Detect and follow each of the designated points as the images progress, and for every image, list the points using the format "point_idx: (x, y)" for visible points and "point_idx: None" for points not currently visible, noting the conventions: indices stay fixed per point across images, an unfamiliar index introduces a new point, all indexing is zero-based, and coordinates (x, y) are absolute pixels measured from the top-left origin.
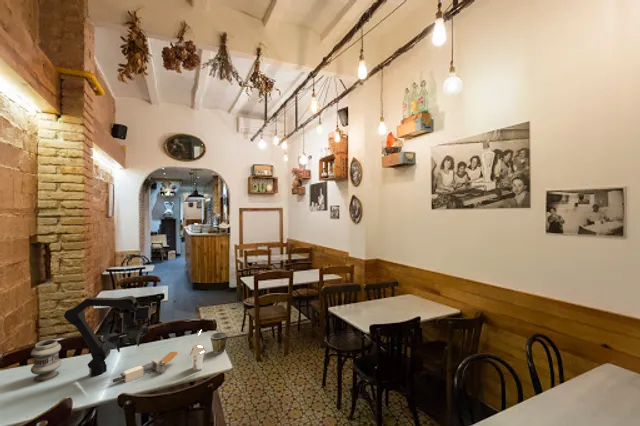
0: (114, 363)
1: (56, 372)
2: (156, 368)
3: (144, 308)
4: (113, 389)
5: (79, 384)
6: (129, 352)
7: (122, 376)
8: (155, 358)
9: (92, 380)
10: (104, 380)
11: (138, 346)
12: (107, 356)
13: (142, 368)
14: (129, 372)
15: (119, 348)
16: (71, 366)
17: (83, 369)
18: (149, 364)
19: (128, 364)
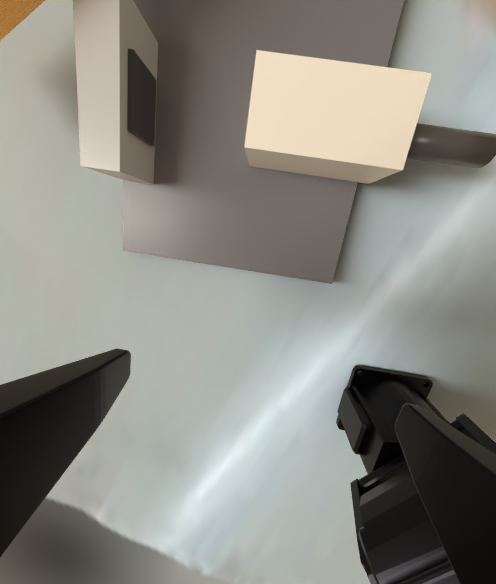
0: (255, 445)
1: None
2: (149, 72)
3: None
4: None
5: (488, 388)
6: (149, 486)
7: (425, 128)
8: (86, 158)
9: (429, 370)
10: (402, 311)
11: (122, 349)
12: (407, 479)
13: (266, 53)
14: (391, 80)
15: (481, 460)
16: None
17: None
18: (147, 236)
19: (218, 373)
